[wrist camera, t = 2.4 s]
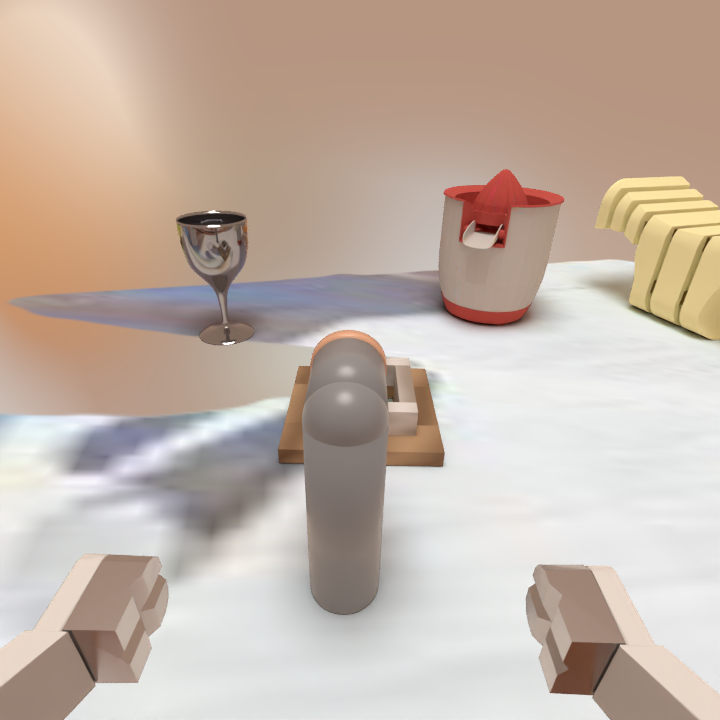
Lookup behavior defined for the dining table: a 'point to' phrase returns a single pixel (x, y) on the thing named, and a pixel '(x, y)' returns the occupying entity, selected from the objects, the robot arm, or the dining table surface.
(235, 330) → the wine glass
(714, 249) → the slatted curved stool
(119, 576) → the robot arm
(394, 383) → the collar plate
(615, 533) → the dining table surface
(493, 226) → the citrus juicer
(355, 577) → the pipe elbow
